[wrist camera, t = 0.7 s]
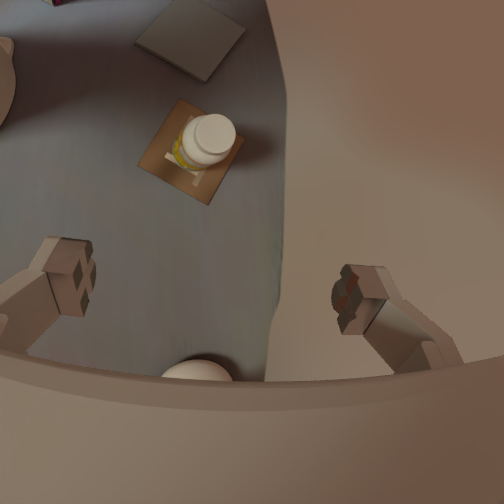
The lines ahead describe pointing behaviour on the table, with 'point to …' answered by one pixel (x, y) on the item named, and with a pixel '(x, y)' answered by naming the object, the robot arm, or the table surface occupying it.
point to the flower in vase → (198, 371)
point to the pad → (191, 37)
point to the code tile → (165, 166)
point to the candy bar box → (52, 2)
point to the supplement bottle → (204, 142)
